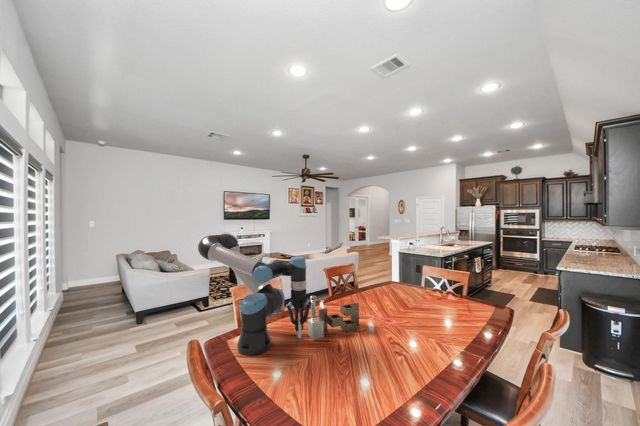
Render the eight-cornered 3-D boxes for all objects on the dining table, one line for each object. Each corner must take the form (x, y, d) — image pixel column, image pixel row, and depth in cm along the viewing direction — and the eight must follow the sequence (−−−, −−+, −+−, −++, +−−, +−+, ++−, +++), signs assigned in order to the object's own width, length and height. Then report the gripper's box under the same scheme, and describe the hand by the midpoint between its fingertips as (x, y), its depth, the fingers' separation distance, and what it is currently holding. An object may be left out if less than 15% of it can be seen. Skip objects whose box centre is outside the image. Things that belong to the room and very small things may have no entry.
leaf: (312, 340, 130) (312, 315, 130) (308, 334, 135) (307, 311, 135) (343, 333, 137) (342, 309, 137) (337, 328, 142) (337, 306, 142)
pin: (311, 329, 142) (311, 297, 142) (309, 326, 145) (309, 296, 145) (317, 328, 143) (317, 296, 143) (315, 325, 146) (314, 295, 146)
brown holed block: (346, 332, 137) (346, 309, 137) (340, 327, 143) (340, 305, 143) (364, 328, 142) (364, 306, 142) (358, 324, 148) (357, 302, 148)
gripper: (288, 292, 124) (288, 343, 124) (313, 288, 129) (314, 337, 129) (283, 288, 131) (284, 336, 131) (308, 285, 136) (308, 331, 136)
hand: (299, 336), depth 130 cm, fingers closed
